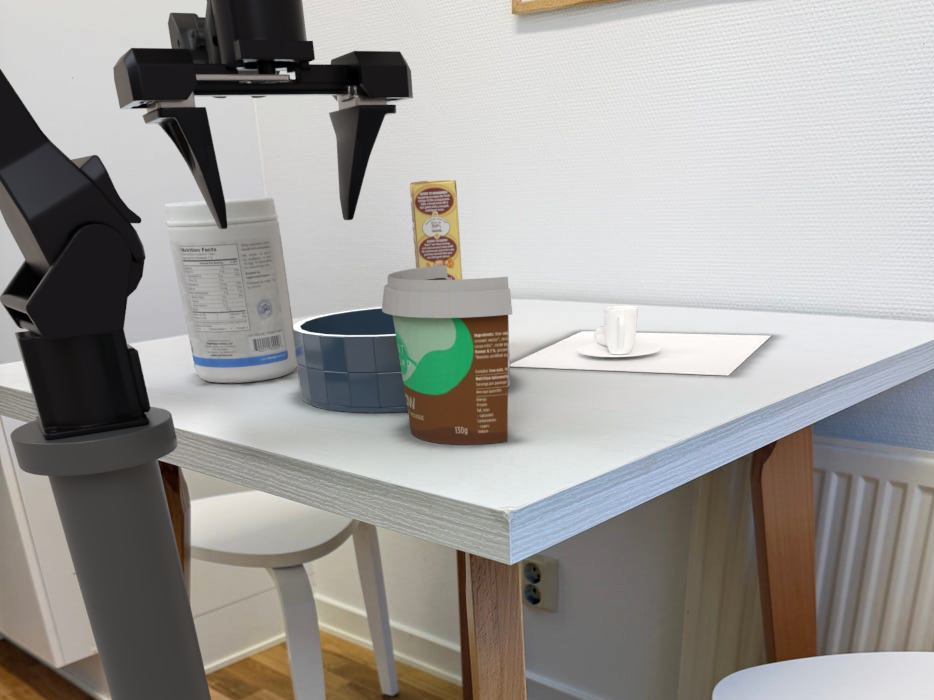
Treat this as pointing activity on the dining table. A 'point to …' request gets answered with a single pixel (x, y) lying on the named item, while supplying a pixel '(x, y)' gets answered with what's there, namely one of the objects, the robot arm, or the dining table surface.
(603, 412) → the dining table surface
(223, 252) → the supplement tub
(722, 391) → the dining table surface
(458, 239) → the candy box
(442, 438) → the food container
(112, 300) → the robot arm
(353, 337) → the pot
